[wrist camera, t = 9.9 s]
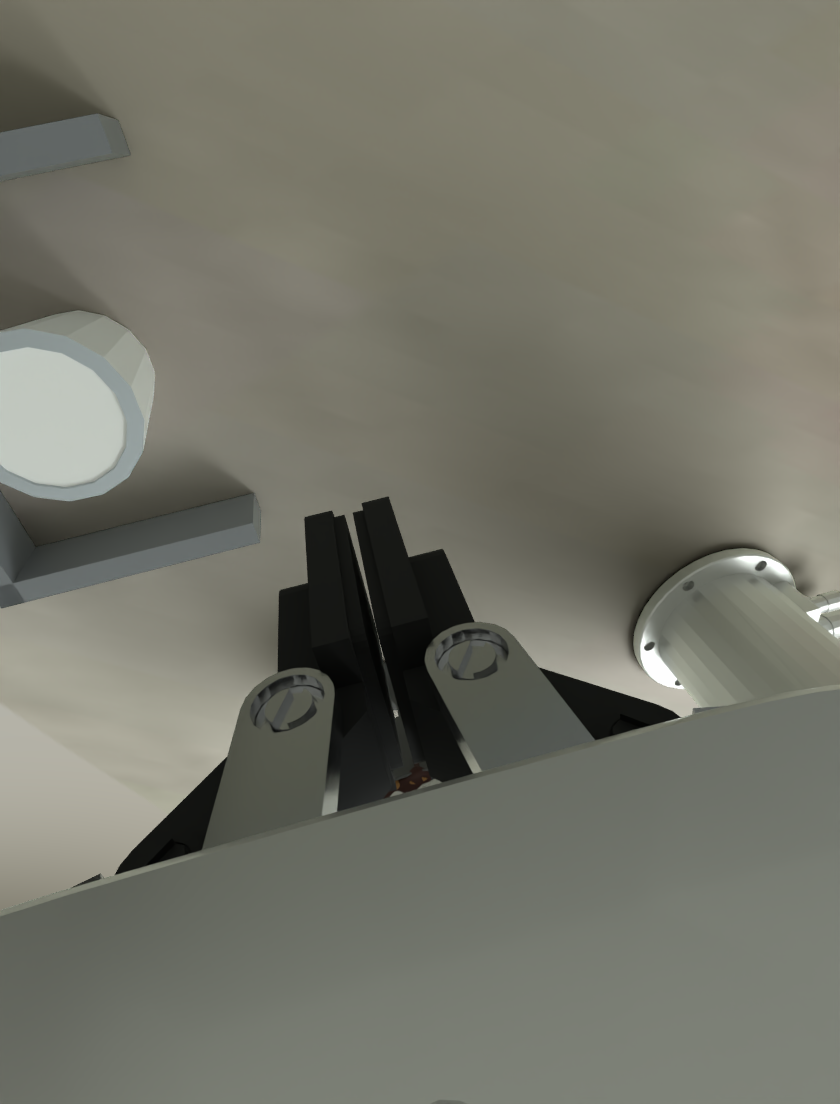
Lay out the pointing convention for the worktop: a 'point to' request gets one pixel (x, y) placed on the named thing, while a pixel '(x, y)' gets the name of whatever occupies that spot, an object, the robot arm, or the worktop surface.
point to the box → (36, 572)
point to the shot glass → (72, 405)
